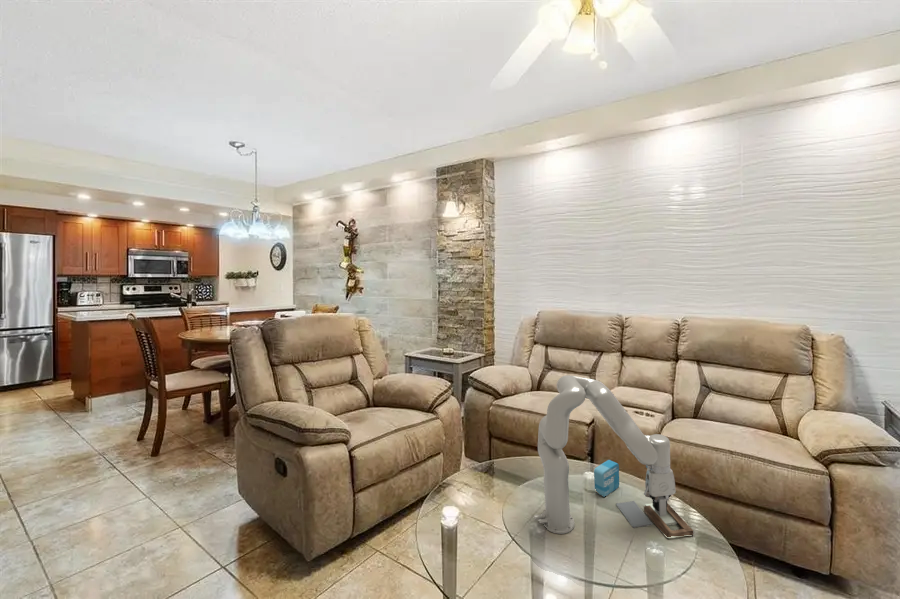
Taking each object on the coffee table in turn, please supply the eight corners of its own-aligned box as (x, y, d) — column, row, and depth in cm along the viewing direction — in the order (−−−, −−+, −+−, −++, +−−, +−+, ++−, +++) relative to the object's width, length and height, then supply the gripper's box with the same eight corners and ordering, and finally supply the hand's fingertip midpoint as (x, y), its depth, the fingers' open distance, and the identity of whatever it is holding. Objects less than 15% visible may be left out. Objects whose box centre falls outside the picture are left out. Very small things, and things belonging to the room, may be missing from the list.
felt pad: (633, 527, 158) (632, 526, 158) (615, 504, 172) (615, 503, 172) (652, 525, 159) (652, 523, 159) (634, 502, 173) (633, 500, 172)
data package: (603, 498, 177) (602, 473, 175) (594, 493, 181) (593, 468, 179) (619, 486, 183) (618, 462, 182) (610, 482, 187) (609, 458, 185)
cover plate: (661, 526, 158) (661, 507, 156) (644, 506, 169) (644, 488, 168) (676, 524, 158) (676, 505, 157) (659, 504, 170) (659, 486, 169)
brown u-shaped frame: (667, 539, 151) (667, 534, 151) (644, 511, 167) (643, 506, 166) (693, 535, 152) (693, 530, 151) (667, 507, 167) (667, 503, 167)
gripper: (644, 474, 157) (645, 517, 159) (685, 469, 157) (685, 512, 160) (634, 463, 164) (635, 505, 167) (673, 458, 165) (673, 500, 168)
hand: (660, 508), depth 163 cm, fingers closed on cover plate, 2 cm apart
